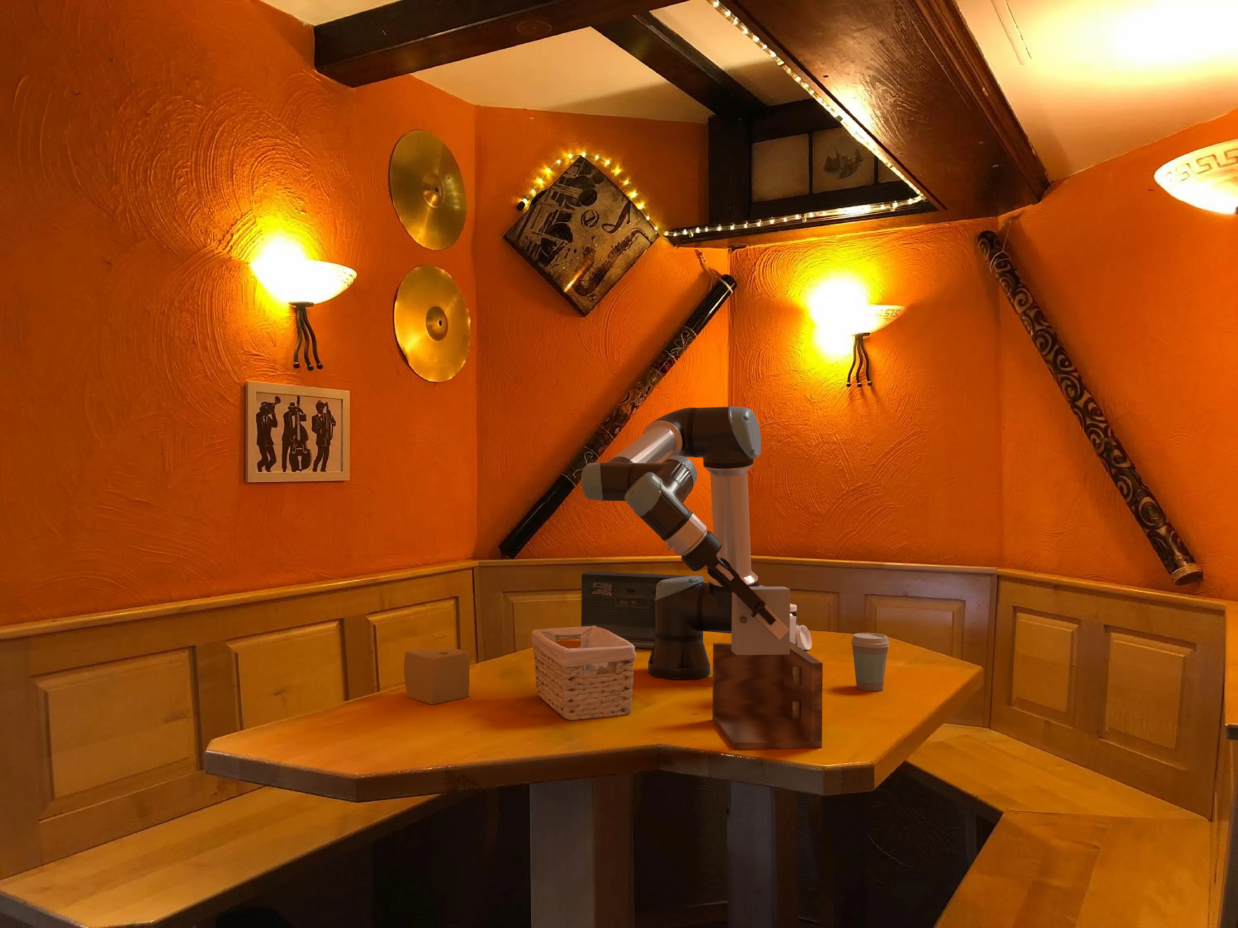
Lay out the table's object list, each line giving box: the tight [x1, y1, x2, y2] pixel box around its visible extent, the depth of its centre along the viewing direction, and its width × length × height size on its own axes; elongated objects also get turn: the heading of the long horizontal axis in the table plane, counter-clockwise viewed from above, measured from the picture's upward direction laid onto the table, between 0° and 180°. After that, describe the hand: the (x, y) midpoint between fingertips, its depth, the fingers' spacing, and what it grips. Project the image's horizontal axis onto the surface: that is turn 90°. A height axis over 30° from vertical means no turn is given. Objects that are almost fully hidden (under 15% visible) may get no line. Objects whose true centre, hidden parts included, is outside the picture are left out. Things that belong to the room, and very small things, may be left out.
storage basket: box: [530, 626, 637, 721], centre depth 199 cm, size 24×16×15 cm
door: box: [731, 586, 791, 655], centre depth 176 cm, size 10×5×12 cm, turn 96°
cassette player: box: [580, 571, 687, 651], centre depth 264 cm, size 29×7×20 cm, turn 74°
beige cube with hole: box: [403, 648, 470, 706], centre depth 205 cm, size 10×11×10 cm
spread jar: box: [790, 603, 813, 651], centre depth 264 cm, size 12×11×12 cm
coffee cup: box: [850, 632, 890, 692], centre depth 217 cm, size 9×8×12 cm
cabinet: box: [711, 642, 824, 751], centre depth 180 cm, size 16×20×15 cm
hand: (780, 632), depth 177 cm, fingers closed on door, 4 cm apart
